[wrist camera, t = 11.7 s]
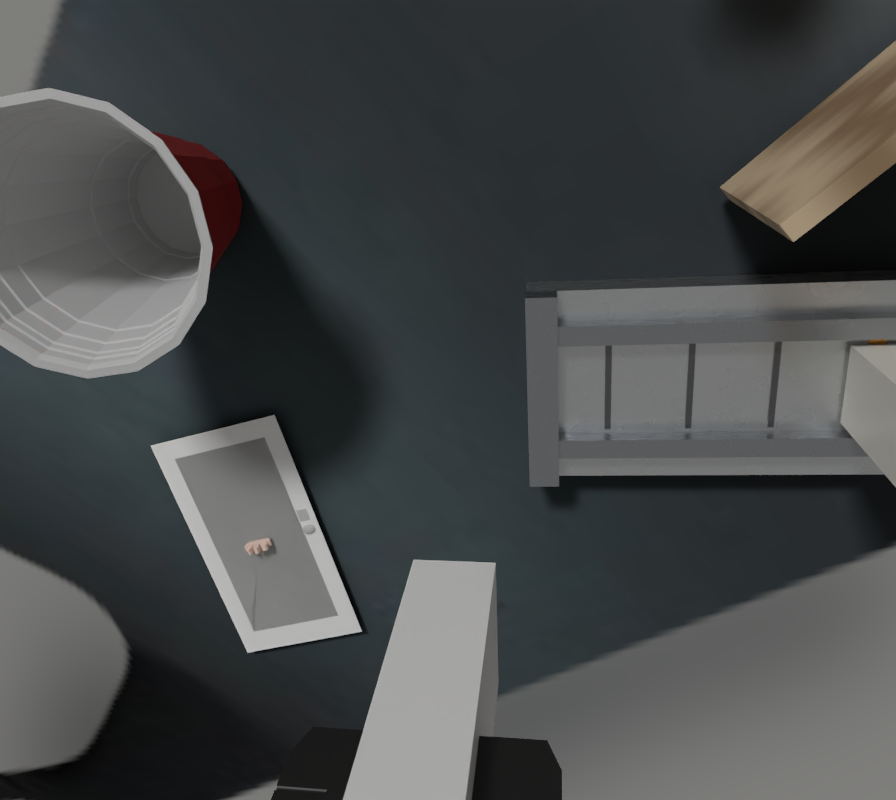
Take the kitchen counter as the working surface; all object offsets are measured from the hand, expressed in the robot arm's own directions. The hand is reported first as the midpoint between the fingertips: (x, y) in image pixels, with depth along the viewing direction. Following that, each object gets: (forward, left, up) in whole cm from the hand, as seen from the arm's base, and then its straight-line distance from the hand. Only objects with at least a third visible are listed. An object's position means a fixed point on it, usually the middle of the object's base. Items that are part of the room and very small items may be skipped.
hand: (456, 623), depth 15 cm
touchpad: (+21, +6, -29) cm, 36 cm away
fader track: (-8, +11, -28) cm, 31 cm away
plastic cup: (+12, -12, -28) cm, 33 cm away
